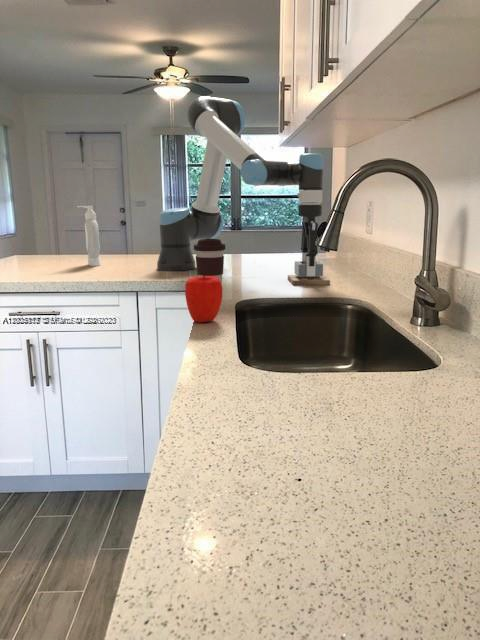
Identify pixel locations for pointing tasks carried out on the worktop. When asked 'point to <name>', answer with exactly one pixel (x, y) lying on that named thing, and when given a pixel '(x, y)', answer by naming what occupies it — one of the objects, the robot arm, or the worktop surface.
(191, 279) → the apple
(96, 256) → the soap bottle
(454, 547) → the worktop surface
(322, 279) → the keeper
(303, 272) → the gray square block
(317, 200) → the robot arm
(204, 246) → the coffee cup
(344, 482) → the worktop surface
